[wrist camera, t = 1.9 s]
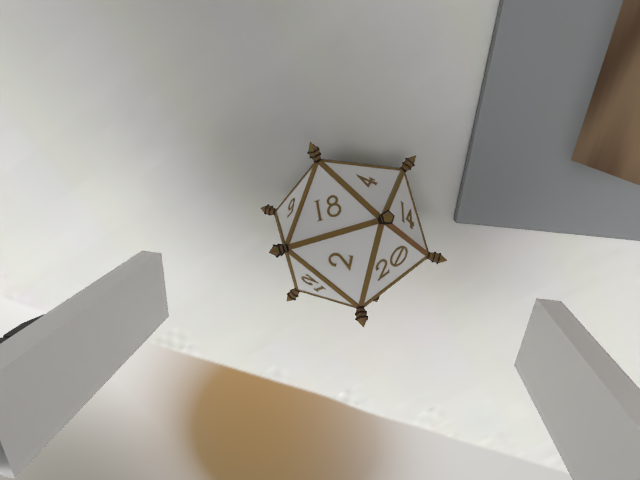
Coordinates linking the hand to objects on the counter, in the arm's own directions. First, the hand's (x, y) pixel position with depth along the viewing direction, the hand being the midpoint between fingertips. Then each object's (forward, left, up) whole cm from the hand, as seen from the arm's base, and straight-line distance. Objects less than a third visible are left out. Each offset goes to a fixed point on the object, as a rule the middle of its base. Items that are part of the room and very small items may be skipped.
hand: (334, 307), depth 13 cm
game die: (0, 0, -11) cm, 11 cm away
